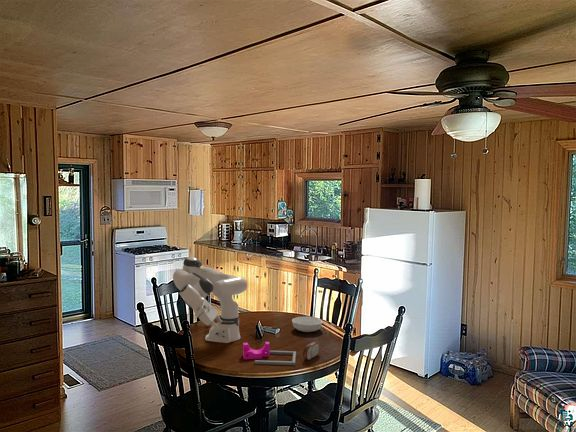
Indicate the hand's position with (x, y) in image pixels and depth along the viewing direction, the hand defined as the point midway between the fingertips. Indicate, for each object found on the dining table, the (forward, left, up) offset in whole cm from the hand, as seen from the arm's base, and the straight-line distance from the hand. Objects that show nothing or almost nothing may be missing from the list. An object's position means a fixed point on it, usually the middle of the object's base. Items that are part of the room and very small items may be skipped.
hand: (219, 325), depth 249 cm
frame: (+32, 0, -18) cm, 37 cm away
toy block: (+21, +3, -19) cm, 28 cm away
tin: (+53, +4, -19) cm, 56 cm away
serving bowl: (+50, +54, -19) cm, 76 cm away
